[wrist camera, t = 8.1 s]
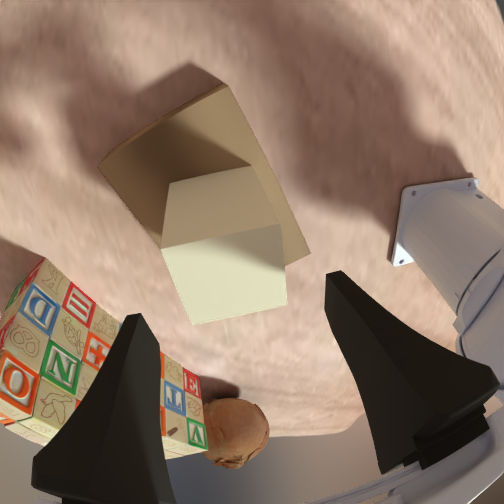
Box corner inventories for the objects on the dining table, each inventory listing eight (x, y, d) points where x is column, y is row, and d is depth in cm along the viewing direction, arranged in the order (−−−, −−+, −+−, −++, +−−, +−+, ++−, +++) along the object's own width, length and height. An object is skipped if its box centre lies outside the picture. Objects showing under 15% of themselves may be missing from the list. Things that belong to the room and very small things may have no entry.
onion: (209, 416, 39) (218, 477, 31) (175, 393, 33) (180, 467, 25) (270, 400, 38) (285, 464, 30) (246, 373, 33) (262, 453, 25)
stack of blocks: (201, 376, 32) (213, 478, 22) (161, 391, 33) (166, 484, 23) (44, 254, 19) (-13, 393, 9) (13, 287, 20) (-32, 406, 11)
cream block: (251, 165, 16) (280, 223, 11) (261, 233, 18) (287, 304, 14) (169, 183, 15) (160, 249, 11) (189, 249, 18) (192, 325, 13)
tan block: (223, 82, 15) (228, 85, 13) (298, 229, 22) (310, 253, 20) (110, 150, 16) (97, 167, 14) (205, 275, 24) (208, 302, 21)
